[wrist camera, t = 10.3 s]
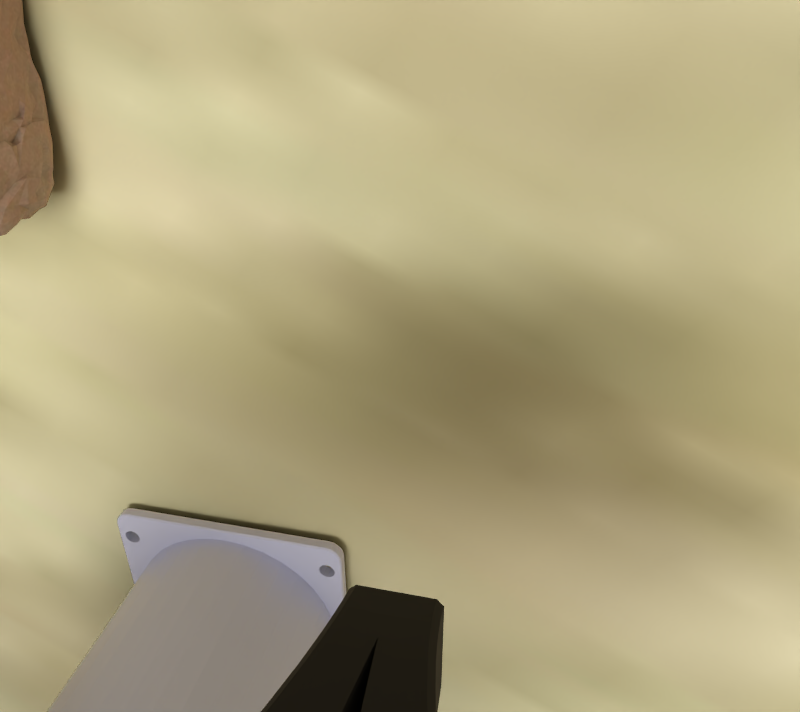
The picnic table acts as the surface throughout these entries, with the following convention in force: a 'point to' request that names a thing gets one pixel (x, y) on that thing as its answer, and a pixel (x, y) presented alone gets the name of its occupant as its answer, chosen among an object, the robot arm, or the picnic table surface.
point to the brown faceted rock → (21, 125)
